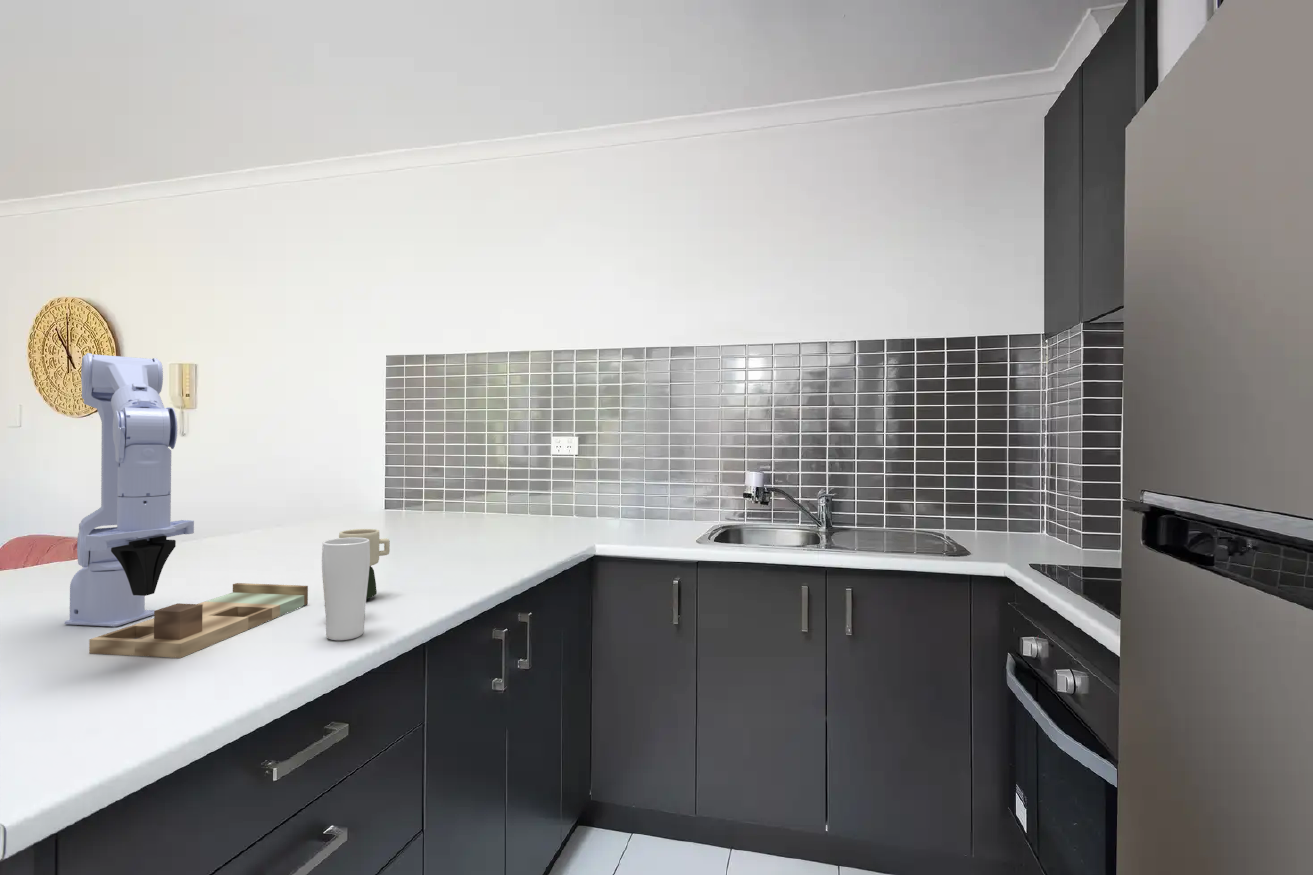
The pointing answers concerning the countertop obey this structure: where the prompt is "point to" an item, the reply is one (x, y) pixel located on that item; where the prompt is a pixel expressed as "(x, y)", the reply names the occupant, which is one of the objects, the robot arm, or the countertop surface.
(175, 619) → the block
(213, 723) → the countertop surface
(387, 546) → the character mug
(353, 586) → the drinking glass
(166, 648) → the wooden board
